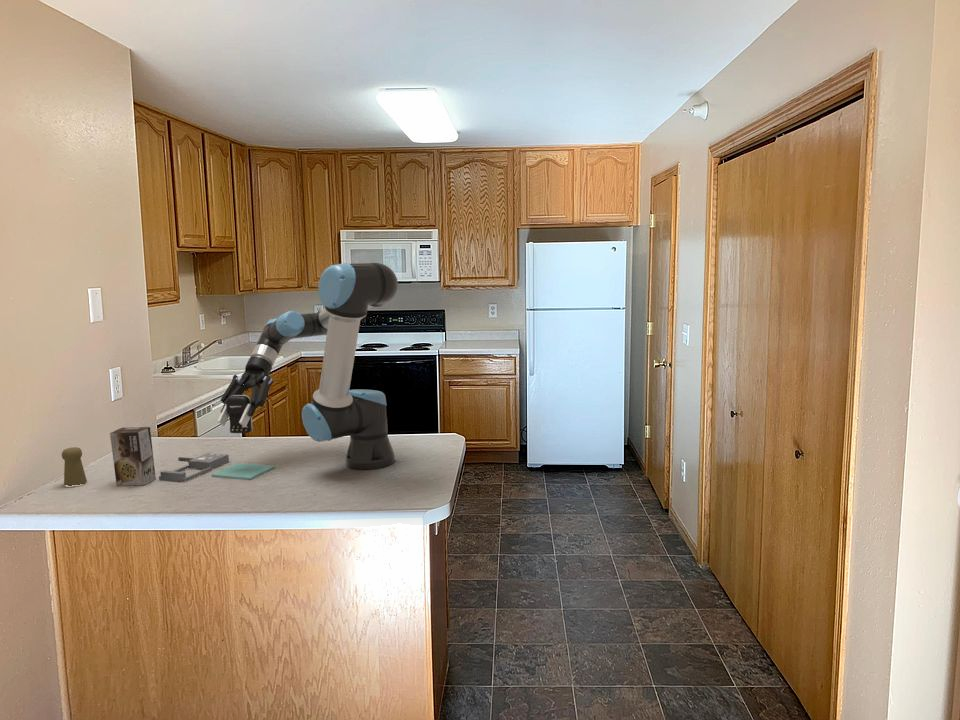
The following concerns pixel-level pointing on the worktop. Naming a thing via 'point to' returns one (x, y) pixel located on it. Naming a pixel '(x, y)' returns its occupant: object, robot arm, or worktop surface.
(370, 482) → the worktop surface
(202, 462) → the gray frame with rod
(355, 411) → the robot arm
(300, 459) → the worktop surface
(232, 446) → the worktop surface
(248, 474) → the mat
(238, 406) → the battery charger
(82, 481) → the cork
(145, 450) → the coffee box
